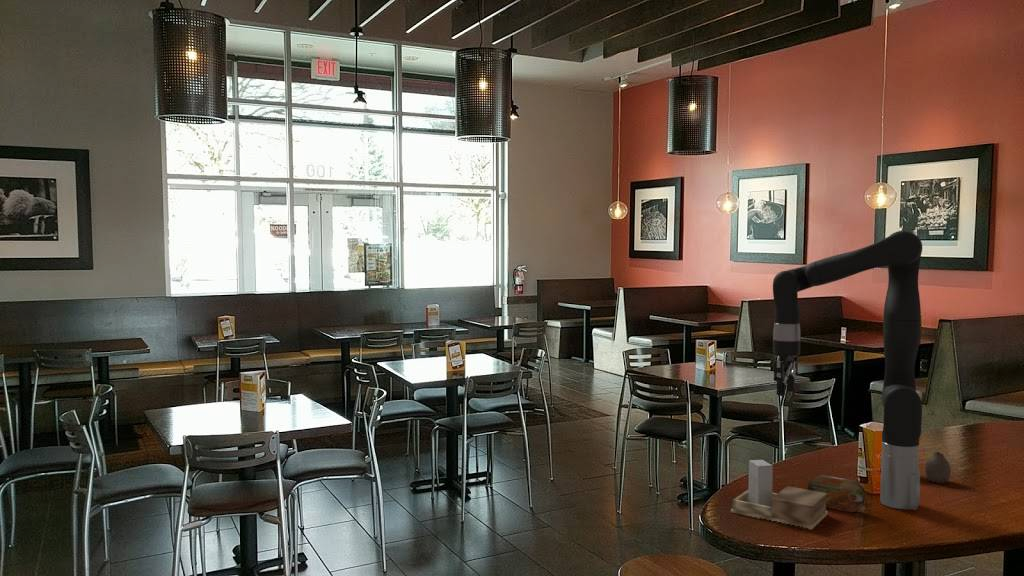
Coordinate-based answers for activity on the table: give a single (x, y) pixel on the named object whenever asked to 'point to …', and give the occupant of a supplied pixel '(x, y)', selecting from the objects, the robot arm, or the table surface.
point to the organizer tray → (761, 510)
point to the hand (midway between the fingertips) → (785, 393)
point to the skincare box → (760, 482)
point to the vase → (938, 468)
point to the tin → (839, 492)
